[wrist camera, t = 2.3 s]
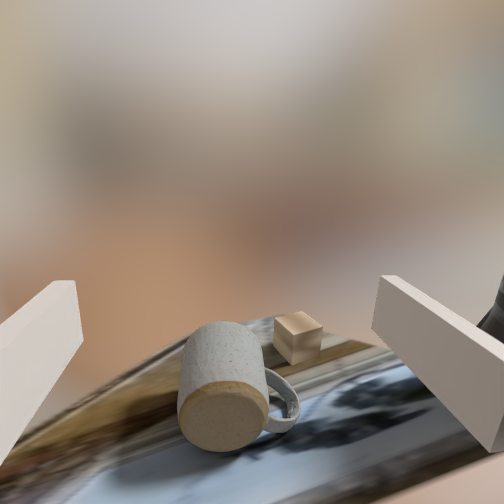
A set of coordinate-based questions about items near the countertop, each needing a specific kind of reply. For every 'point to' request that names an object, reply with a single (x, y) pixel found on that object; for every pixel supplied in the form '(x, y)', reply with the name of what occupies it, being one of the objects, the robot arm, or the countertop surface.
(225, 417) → the ceramic mug
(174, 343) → the countertop surface
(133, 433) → the countertop surface
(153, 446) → the countertop surface
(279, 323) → the birch block
